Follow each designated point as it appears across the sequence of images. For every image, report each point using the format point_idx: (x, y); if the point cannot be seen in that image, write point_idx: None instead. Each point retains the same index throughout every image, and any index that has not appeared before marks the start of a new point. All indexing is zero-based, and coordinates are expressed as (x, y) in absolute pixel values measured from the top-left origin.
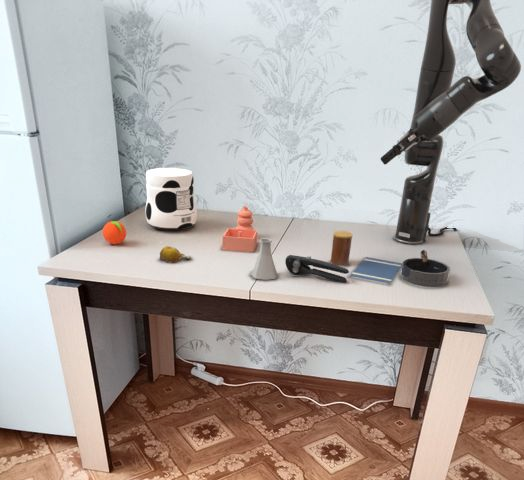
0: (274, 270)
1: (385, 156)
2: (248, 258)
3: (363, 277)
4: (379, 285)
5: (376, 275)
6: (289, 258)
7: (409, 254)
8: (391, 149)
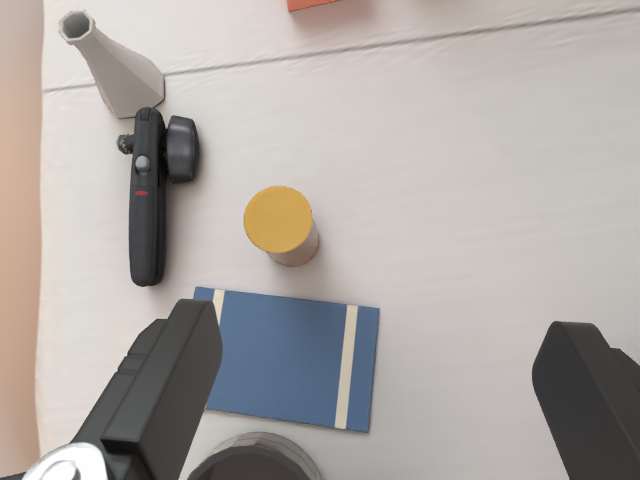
0: (120, 103)
1: (131, 354)
2: (238, 18)
3: None
4: None
5: (225, 360)
6: (135, 116)
7: (492, 450)
8: (101, 437)
